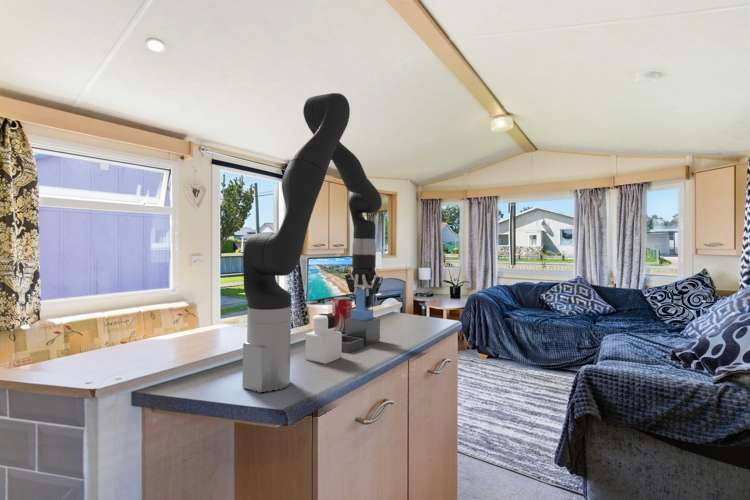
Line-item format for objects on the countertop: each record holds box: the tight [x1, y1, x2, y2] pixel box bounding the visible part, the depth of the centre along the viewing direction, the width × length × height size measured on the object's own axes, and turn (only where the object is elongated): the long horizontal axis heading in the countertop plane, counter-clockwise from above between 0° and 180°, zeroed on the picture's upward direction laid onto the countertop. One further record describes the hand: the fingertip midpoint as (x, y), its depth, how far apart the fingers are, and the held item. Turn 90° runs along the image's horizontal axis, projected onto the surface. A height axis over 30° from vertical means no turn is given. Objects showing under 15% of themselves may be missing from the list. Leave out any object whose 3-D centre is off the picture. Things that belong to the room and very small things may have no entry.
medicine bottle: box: [304, 313, 343, 365], centre depth 105 cm, size 7×7×12 cm
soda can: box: [331, 296, 353, 333], centre depth 139 cm, size 7×7×12 cm
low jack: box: [341, 334, 365, 354], centre depth 116 cm, size 8×8×2 cm
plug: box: [350, 288, 374, 321], centre depth 123 cm, size 5×5×10 cm
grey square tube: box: [344, 316, 381, 347], centre depth 124 cm, size 8×8×8 cm
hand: (363, 306), depth 124 cm, fingers closed on plug, 3 cm apart
